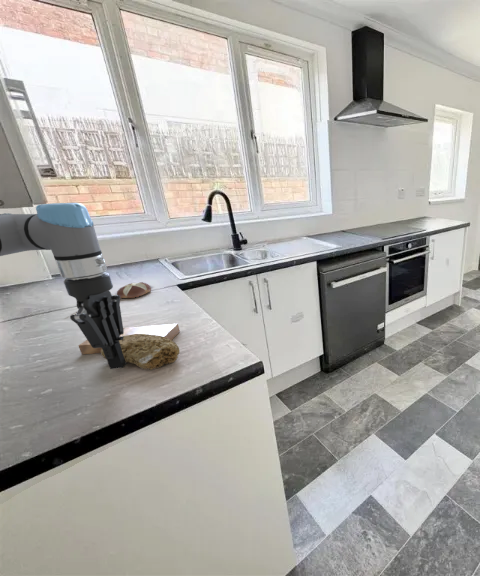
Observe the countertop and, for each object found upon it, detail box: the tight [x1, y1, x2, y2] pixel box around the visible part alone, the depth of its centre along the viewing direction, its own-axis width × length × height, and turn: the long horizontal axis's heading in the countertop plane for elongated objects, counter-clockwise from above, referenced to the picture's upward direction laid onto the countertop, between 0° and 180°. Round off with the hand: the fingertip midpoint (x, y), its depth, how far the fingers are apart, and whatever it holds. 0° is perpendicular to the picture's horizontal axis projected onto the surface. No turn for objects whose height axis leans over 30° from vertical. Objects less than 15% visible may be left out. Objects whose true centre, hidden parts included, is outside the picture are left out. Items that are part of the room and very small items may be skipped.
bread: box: [116, 281, 152, 299], centre depth 135 cm, size 11×11×5 cm
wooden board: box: [77, 323, 181, 355], centre depth 95 cm, size 22×10×3 cm, turn 100°
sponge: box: [100, 334, 180, 371], centre depth 84 cm, size 13×8×20 cm
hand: (118, 366), depth 76 cm, fingers closed
